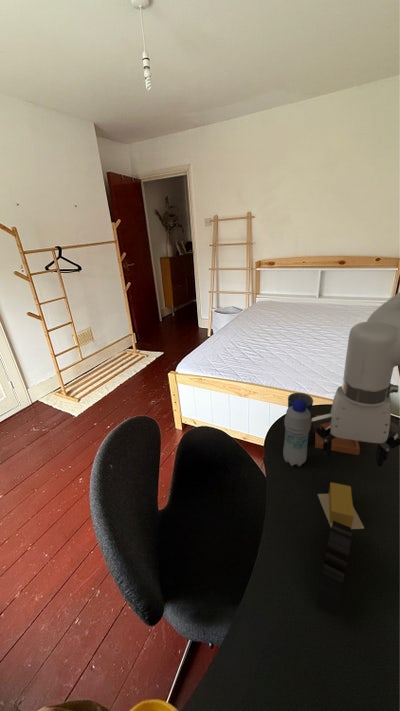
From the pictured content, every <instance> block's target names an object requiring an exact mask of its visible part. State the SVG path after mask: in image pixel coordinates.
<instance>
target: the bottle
mask: <svg viewBox="0 0 400 711" xmlns="http://www.w3.org/2000/svg"><path fill="white" fill-rule="evenodd" d="M311 414H312V412H311V413H310V411H309V410H308V409H307V408H306V403H305V401H303V400H295V401H294V402H293V405H292V406H291V407H289V408H288V407H287V409H286V412H285V417H284V420H283V421H284V428H285V431H284V442H283V449H282V455H283V459H284V462H285V463H287V464H288V463H289V465H290V466H291V467H294V466H295V465H296V466H297V467H301V466H303V464H305V463H306V461H307V457H308V441H309V433H310V430H311V427H312V423H311V421H312V415H311Z"/></svg>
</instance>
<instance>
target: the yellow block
mask: <svg viewBox="0 0 400 711" xmlns="http://www.w3.org/2000/svg"><path fill="white" fill-rule="evenodd" d="M328 494H329V521H330V523H332V524H333V520H334V521H336V522H338V523H341V524H343V525H346V526H348V527H352V523H353V519H354V511H353V507H354V504H353V494H352V486H351V485H347V484H341V483H336V482H333V481H332V482H330V483H329V489H328Z"/></svg>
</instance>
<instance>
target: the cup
mask: <svg viewBox="0 0 400 711" xmlns="http://www.w3.org/2000/svg"><path fill="white" fill-rule="evenodd" d="M295 400H303V401H305V403H306V408H307V409H308V410H309V411H310V413H311V414H312V409H313V404H314V399H313V397H312V396H311V395H309V394H306V393H303V392H293V393H290V394H289V395H288V396H287V409H288V408H289V407H291V406H292V405H293V402H294V401H295Z"/></svg>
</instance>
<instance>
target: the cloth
mask: <svg viewBox="0 0 400 711" xmlns="http://www.w3.org/2000/svg"><path fill="white" fill-rule="evenodd" d="M317 497H318V500H319V502H320V505H321V507H322V509H323V512H324V514H325V517H326V519H327V521H328V524H329V526H330V528H331V526H332V523H330V521H329V493H317ZM353 511H354V519H353V523H352V527H351V530H363V529H365V526H364V524H363V522H362V520H361V519H360V516H359V514H358V513H357V511H356V509H355V507H354V506H353Z"/></svg>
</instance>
